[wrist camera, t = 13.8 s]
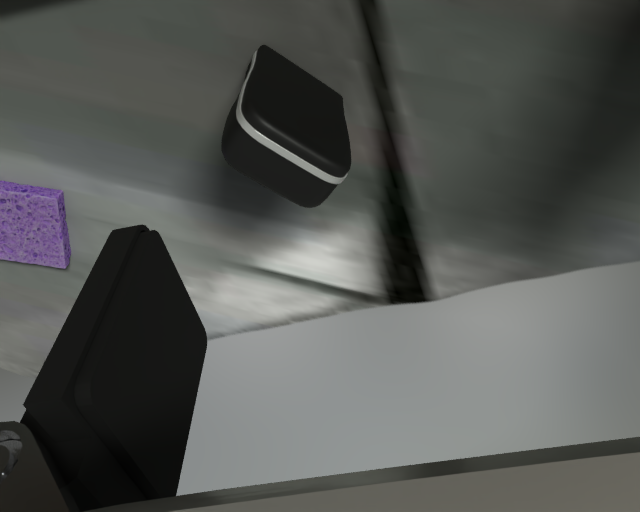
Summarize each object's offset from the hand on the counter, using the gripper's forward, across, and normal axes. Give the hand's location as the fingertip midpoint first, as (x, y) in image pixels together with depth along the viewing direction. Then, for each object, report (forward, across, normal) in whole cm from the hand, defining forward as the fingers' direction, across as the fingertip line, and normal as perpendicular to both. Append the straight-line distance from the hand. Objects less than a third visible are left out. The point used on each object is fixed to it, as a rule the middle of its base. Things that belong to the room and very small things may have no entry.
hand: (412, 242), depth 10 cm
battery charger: (+28, +5, +7) cm, 30 cm away
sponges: (+29, +31, +12) cm, 44 cm away
